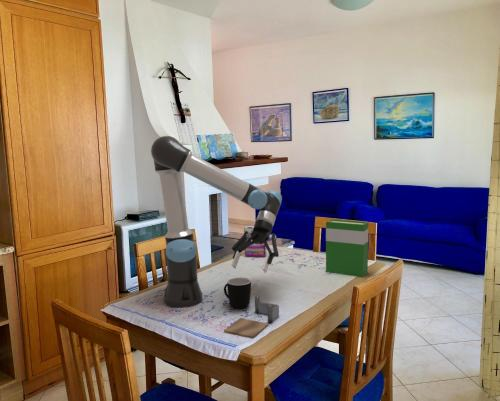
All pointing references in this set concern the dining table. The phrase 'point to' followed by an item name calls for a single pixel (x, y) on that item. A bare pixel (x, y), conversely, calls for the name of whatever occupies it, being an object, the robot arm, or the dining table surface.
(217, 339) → the dining table surface
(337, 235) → the hardback book
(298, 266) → the dining table surface
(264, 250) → the candy bar box
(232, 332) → the coaster
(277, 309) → the grey l-shaped bracket
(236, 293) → the mug
